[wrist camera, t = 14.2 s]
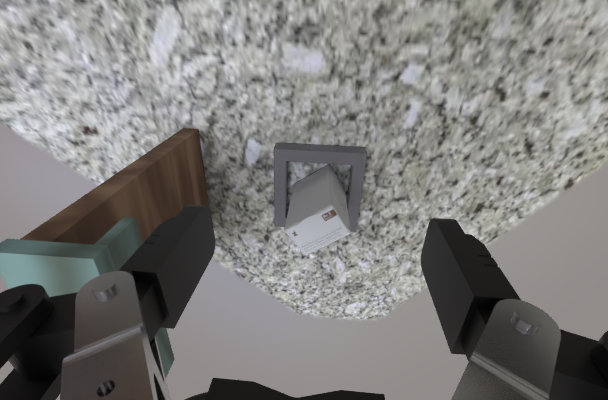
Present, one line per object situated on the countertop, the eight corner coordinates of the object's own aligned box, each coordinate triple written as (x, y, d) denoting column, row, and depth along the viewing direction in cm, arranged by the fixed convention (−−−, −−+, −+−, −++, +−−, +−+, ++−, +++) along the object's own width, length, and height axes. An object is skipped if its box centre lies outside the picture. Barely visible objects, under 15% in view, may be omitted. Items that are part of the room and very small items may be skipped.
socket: (364, 147, 40) (367, 154, 37) (354, 221, 45) (356, 231, 43) (276, 142, 40) (273, 149, 38) (277, 217, 46) (274, 226, 43)
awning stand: (228, 126, 39) (93, 259, 16) (236, 224, 47) (151, 409, 24) (182, 124, 40) (-13, 251, 17) (197, 221, 47) (76, 403, 24)
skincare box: (309, 205, 44) (304, 260, 34) (292, 182, 43) (280, 231, 32) (346, 186, 42) (353, 237, 32) (329, 160, 41) (331, 205, 30)
